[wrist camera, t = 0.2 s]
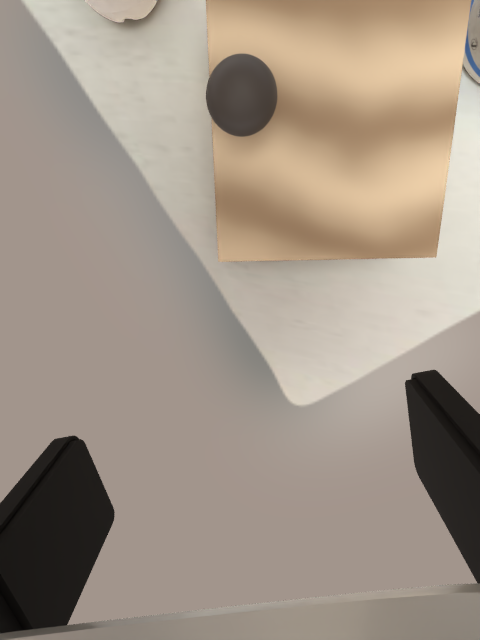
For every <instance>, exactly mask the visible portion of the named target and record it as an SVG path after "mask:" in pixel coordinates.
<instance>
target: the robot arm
mask: <svg viewBox="0 0 480 640" xmlns="http://www.w3.org/2000/svg"><path fill="white" fill-rule="evenodd" d="M405 387H406V396H407V404H408V413H409V421H410V430H411V439H412V447H413V455H414V463H415V467H416V470H417V473H418V476H419V478H420V479H421V481H422V483H423V484H424V487H425V489H426V490H427V492H428V494H429V496H430V498H431V499H432V501H433V503H434V505H435V507H436V508H437V510H438V512H439V514H440V516H441V518H442V519H443V521H444V523H445V524H446V527H447V528H448V530H449V532H450V534H451V535H452V537H453V539H454V541H455V543H456V545H457V546H458V548H459V550H460V552H461V554H462V555H463V557H464V559H465V561H466V563H467V564H468V566H469V568H470V570H471V572H472V574H473V575H474V577H475V579H476V581H477V583H478V584H457V585H456V584H454V585H439V586H428V587H417V588H405V589H394V590H383V591H372V592H361V593H351V594H342V595H333V596H323V597H315V598H305V599H295V600H286V601H277V602H267V603H257V604H249V605H239V606H230V607H221V608H212V609H204V610H195V611H185V612H177V613H168V614H159V615H150V616H142V617H134V618H124V619H115V620H107V621H99V622H91V623H82V624H73V625H67V624H68V622H69V620H70V617H71V615H72V613H73V611H74V608H75V606H76V604H77V602H78V599H79V597H80V595H81V593H82V591H83V588H84V586H85V584H86V582H87V579H88V577H89V575H90V573H91V570H92V568H93V566H94V564H95V561H96V559H97V557H98V555H99V552H100V550H101V548H102V546H103V544H104V541H105V539H106V537H107V535H108V533H109V530H110V528H111V526H112V523H113V521H114V509H113V506H112V504H111V501H110V499H109V497H108V495H107V492H106V490H105V488H104V485H103V483H102V481H101V479H100V477H99V474H98V472H97V470H96V467H95V465H94V463H93V460H92V458H91V456H90V454H89V451H88V449H87V447H86V444H85V443H84V441H83V440H81V439H79V438H78V437H76V436H69V437H63V438H58V439H54V440H53V441H52V442H51V443H50V445H49V446H48V447H47V448H46V450H45V451H44V452H43V453H42V454H41V455H40V457H39V458H38V459H37V460H36V461H35V463H34V464H33V465H32V466H31V468H30V469H29V470H28V471H27V472H26V473H25V474H24V476H23V477H22V478H21V479H20V481H19V482H18V483H17V484H16V485H15V486H14V488H13V489H12V490H11V491H10V492H9V494H8V495H7V496H6V497H5V498H4V500H3V501H2V502H1V503H0V640H480V414H479V413H478V412H476V411H475V409H474V408H473V407H472V406H471V405H470V404H469V403H468V402H467V401H466V400H465V399H464V398H463V397H462V396H461V395H460V394H459V393H458V392H457V391H456V390H455V389H454V388H453V387H452V386H451V385H450V384H449V383H448V382H447V381H446V380H445V379H444V378H443V377H442V376H441V375H440V374H439V373H438V372H437V371H436V370H430V371H425V372H419V373H414V374H412V377H411V380H406V382H405Z"/></svg>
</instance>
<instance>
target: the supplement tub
mask: <svg viewBox="0 0 480 640" xmlns="http://www.w3.org/2000/svg"><path fill="white" fill-rule="evenodd" d="M463 65H464V67H465V69H466V70H467V72H468V73H469V74H470V75H471V77H472V78H473V79H475V80H476V81H477V82H478V83H480V0H471V6H470V14H469V21H468V28H467V36H466V43H465V50H464V58H463Z"/></svg>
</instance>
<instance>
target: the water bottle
mask: <svg viewBox="0 0 480 640" xmlns="http://www.w3.org/2000/svg"><path fill="white" fill-rule="evenodd" d="M85 1H86V2H87V3H88V4H89V5H90V6H91V7H92V8H93V9H94V10H95V11H96V12H97V13H99V14H100V15H102V16H103V17H105V18H107V19H109V20H112V21H114V22H118V23H119V22H124V19H133V20H138V19H142V18H144V17H146V16H147V15H148V14H149V13H150V12H151V10H152V9H153V8H154V6H155V4H156V2H157V0H85Z"/></svg>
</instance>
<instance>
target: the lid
mask: <svg viewBox="0 0 480 640" xmlns="http://www.w3.org/2000/svg"><path fill="white" fill-rule="evenodd" d="M470 6H471V0H206V13H207V34H208V55H209V76H210V78H209V80H208V84H207V90H206V101H207V106H208V110H209V113H210V115H211V117H212V138H213V159H214V180H215V200H216V221H217V242H218V262H230V261H279V260H328V259H377V258H426V257H436V255H437V248H438V241H439V233H440V226H441V219H442V211H443V204H444V197H445V189H446V182H447V175H448V167H449V160H450V153H451V145H452V138H453V131H454V123H455V116H456V109H457V102H458V94H459V87H460V80H461V72H462V65H463V58H464V50H465V43H466V36H467V28H468V21H469V14H470Z"/></svg>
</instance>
